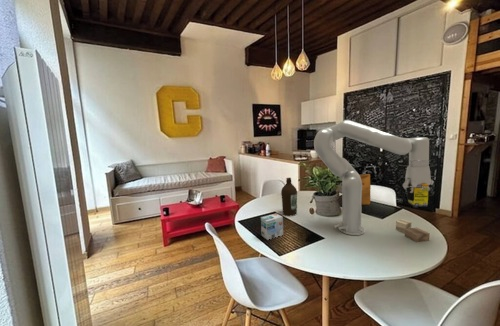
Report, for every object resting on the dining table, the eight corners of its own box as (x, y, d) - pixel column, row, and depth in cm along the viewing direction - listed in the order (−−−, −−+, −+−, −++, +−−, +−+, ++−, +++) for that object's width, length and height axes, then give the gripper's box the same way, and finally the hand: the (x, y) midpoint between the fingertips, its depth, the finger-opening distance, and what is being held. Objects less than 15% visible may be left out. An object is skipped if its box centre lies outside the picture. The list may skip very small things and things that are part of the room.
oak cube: (405, 233, 117) (405, 224, 117) (395, 229, 122) (396, 221, 121) (411, 231, 119) (411, 222, 119) (401, 227, 124) (401, 219, 123)
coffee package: (350, 200, 173) (351, 172, 170) (368, 201, 169) (369, 172, 166) (352, 204, 164) (352, 175, 161) (371, 205, 160) (372, 175, 157)
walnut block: (416, 242, 108) (417, 235, 107) (404, 236, 115) (404, 229, 114) (429, 241, 109) (429, 233, 108) (416, 234, 116) (416, 227, 115)
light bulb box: (267, 240, 118) (266, 221, 116) (261, 235, 124) (260, 217, 122) (284, 235, 123) (283, 216, 121) (277, 230, 128) (276, 212, 127)
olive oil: (278, 213, 154) (277, 178, 150) (288, 209, 161) (287, 175, 157) (291, 217, 146) (290, 180, 143) (300, 212, 153) (299, 177, 150)
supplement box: (414, 206, 107) (414, 184, 105) (407, 202, 113) (408, 181, 111) (428, 206, 106) (428, 184, 104) (421, 202, 111) (421, 181, 110)
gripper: (427, 160, 111) (426, 195, 114) (396, 164, 109) (395, 199, 111) (442, 162, 104) (440, 199, 106) (409, 166, 101) (408, 203, 104)
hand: (417, 198), depth 109 cm, fingers closed on supplement box, 7 cm apart
